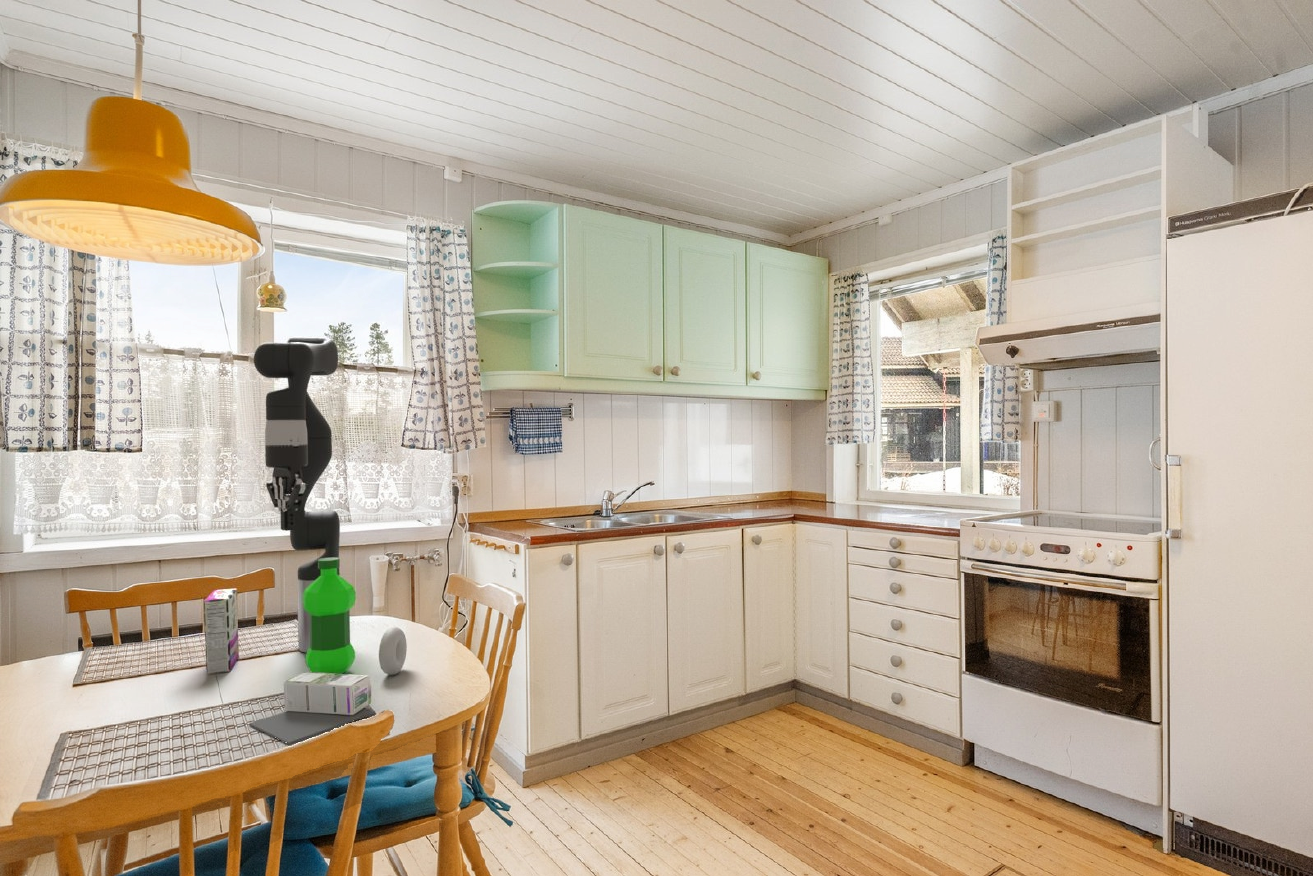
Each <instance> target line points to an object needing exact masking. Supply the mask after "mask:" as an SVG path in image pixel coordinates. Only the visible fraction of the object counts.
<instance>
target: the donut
mask: <svg viewBox="0 0 1313 876" xmlns="http://www.w3.org/2000/svg"><path fill="white" fill-rule="evenodd" d="M407 645H408V643H407V639H406V633H404V631H403V629H401V628H399V627H396V626H393V627H390V628H388V629H387V630H386V631H385V632H384V633H383V635H382V638H381V640H380V644H379V647H378V648H379V649H378V661H379V665H380V669H381V670H382V672H383V673H384V674H386V675H388V676H394V675H396V674H398V673H399V672H401V670H402V669H403V667H404V664H405V661H406V657H407V651H408V650H407V648H408V646H407Z"/></svg>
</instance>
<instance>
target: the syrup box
mask: <svg viewBox="0 0 1313 876" xmlns="http://www.w3.org/2000/svg"><path fill="white" fill-rule="evenodd" d="M371 684H372V683H371V675H369V674H368V675H366V674H351V673H350V674H349V673H344V674H334V673H316V672H311V671H310V672H309V671H303V672H301V673H298V674H297V675H295V676H293V677H292V678H289V679H288V680H286V681H284V682H283V700H284V702H283V703H284V712H286V711H295V712H309V713H325V714H342V715H354V714H355V713H357V712H358V711H360V710H361V709H363V708H367V706H369V705H370V704H371V703H372V701H371V700H372V685H371Z"/></svg>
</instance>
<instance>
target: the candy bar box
mask: <svg viewBox="0 0 1313 876" xmlns="http://www.w3.org/2000/svg"><path fill="white" fill-rule="evenodd" d="M237 595H238V594H237V588H224V589H216V590H215V589H214V590H213V591H212V592H211V593H210V594H209V595H208V597H206V598H205V599H204V601H203V615H204V616H203V618H204V620H203V621H204V639H205V643H204V644H205V645H204V646H205V667H206V668H205V670H206V672H205V673H206V675H215V673H216V674H223V673H229V672H232V669H234V668H233V667H234V666H235V665H236V662H237V661H238V659H239V658H240V651H239V650H240V649H239V625H238V598H237V597H238V596H237Z"/></svg>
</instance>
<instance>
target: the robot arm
mask: <svg viewBox="0 0 1313 876" xmlns="http://www.w3.org/2000/svg"><path fill="white" fill-rule="evenodd" d="M338 353H339V352H338V346H337V344H336V343H335V341H334V340H333V339H331V338H329V337H324V336H323V337H321V336H318V337H317V336H291V337H289V338H288V339H287V342H269V341H268V342H263V343H261V344H260V345H259V346H258V347H257V348H256V349H255V350H254V354H253V363H254V367H255V369H256V371H257V372H258V373H259V375H261V376H263V377H265V378H268V379H287V384H288V385H287V387H284V388H281V389H276V390H272V391H269V392H268V393H266V396H265V430H264V442H265V443H264V452H265V456H264V458H265V466H266V467H267V468H268V469H269V468H270V469H273V471H272V481H270V482H269V481H267V482H266V489H267V493H268V494H269V496H270V499H271V502H272V505H273V506H274V508H277V509H278V512H280V530H282V531H285V532H286V531H288V532H289V534H290V535H289V537H290V538H289V539H290V545H291V547H292V549H293V550H295V551H308V550H324V553H323V554H321V555H320V556H319V557H318V558H316V559H314V560H312V561H309V562H306V563H304V564H302V565H301V566H299V567H298V569H297V591H298V592H297V593H298V594H297V595H298V596H297V600H298V601H297V602H298V608H297V634H298V635H297V637H298V638H297V639H298V641H297V642H298V646H299V647H298V646H297V647H298V650H299V652H302V653H307V651H308V649H309V648H310V614H309V613H308V612H307V611H306V610H305V609H304V605H303V594H304V591H305V589H306V588H307V587H308V586H309V585H311V584H312V583H313V582H314V581H315V580H316V579H317V578H318V577H320V576H321V569H318V560H319V559H322V558H331V557H335V558H339V559H340V536H341V534H340V533H341V524H340V516H339V514H338V512H337V511H335V510H314V511H313V510H312V511H306V510H305V509H306V503H307V502H308V498H309V496H310V495H311V492H312V490H313V489H314V487H315V485H316V484H317V482H318V480H319V479H320V478H321V476H322V475H323V473H324V472H325V470H326V469H327V468H328V466H329V464H330V462H331V460H332V457H333V442H332V441H333V439H332V437H333V435H332V429H331V427H330V425H329V423H328V421H327V420H326V418H325V417H324V415H323V414H322V412H321V411H320V410H319V409H318V407H317V406H316V405H315V403H314V401H313V400H312V398H311V396H310V394H309V392H308V387H309V383H310V379H311V376H316V377H317V376H319V377H320V376H329V375H332V374H334V373H335V372H336V371H337V368H338V365H339V354H338ZM337 575H339V576H341V573H340V567H338V568H337Z"/></svg>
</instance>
